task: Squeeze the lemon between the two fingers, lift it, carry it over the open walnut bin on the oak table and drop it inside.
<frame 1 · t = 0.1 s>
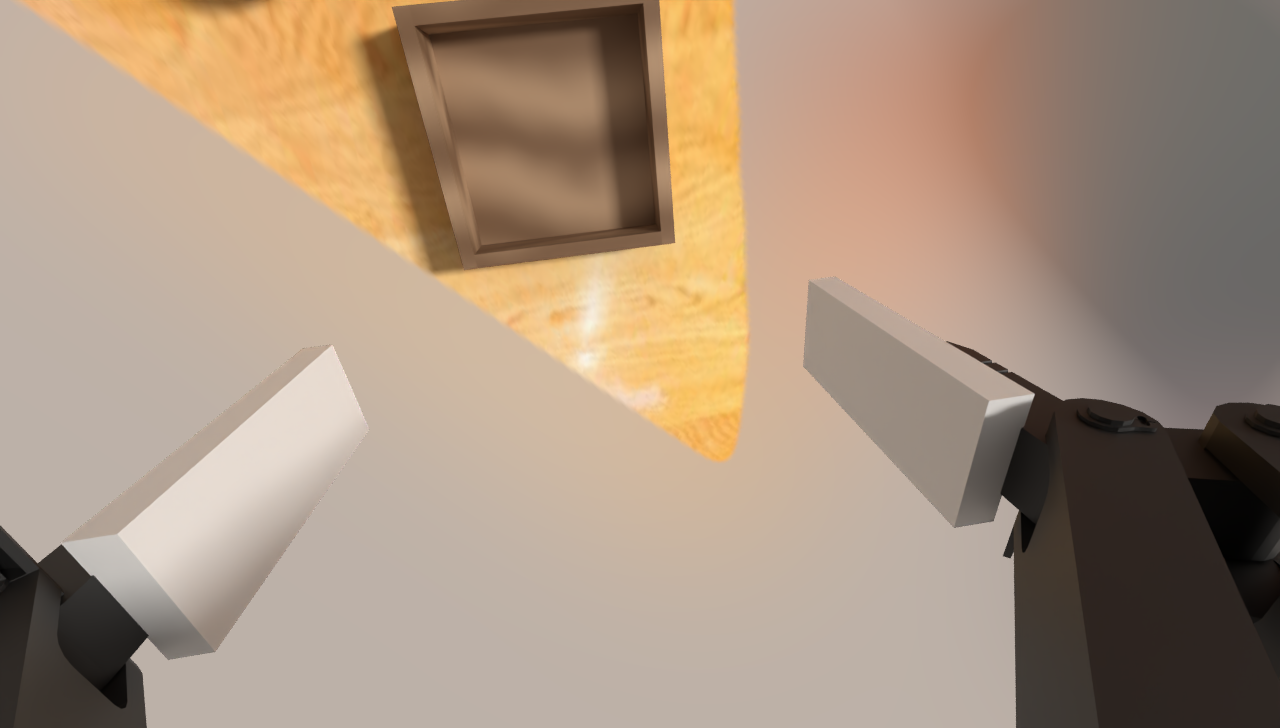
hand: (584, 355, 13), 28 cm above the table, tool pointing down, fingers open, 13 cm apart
walnut bin: (554, 138, 36), on the table
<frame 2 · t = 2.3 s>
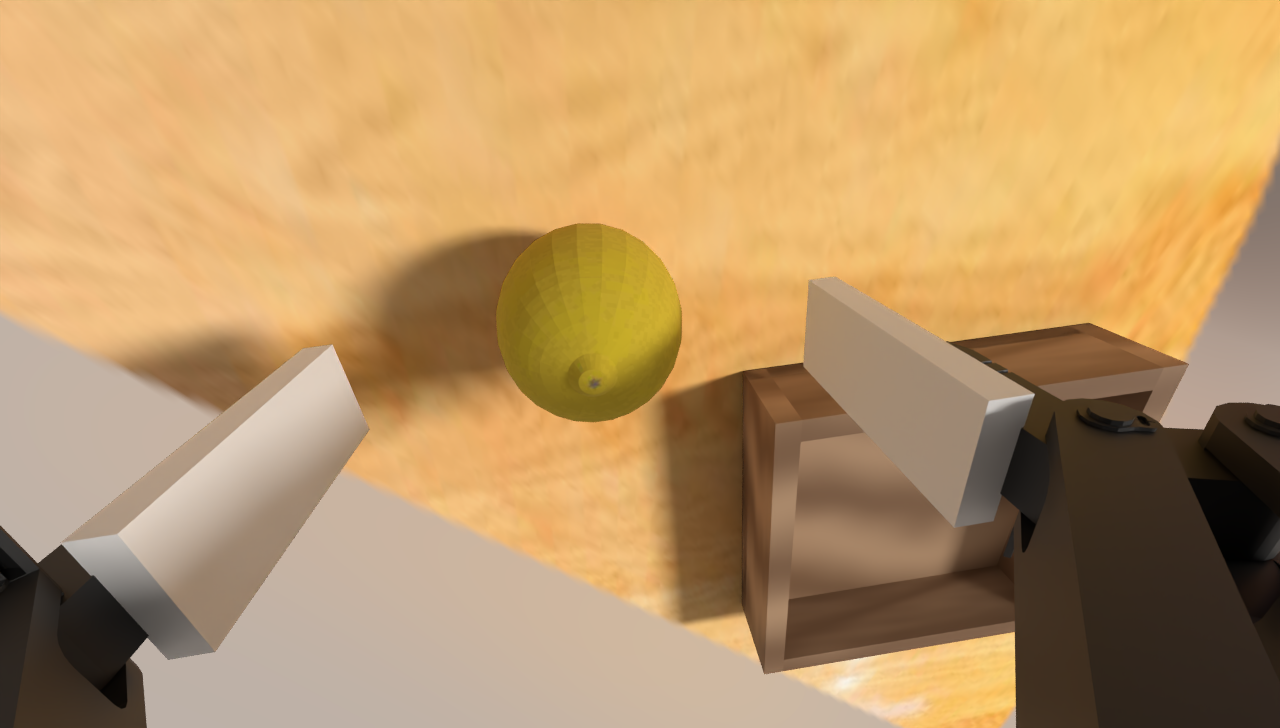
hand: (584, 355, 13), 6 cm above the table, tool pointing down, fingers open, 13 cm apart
lemon: (589, 277, 18), on the table
walnut bin: (891, 483, 25), on the table
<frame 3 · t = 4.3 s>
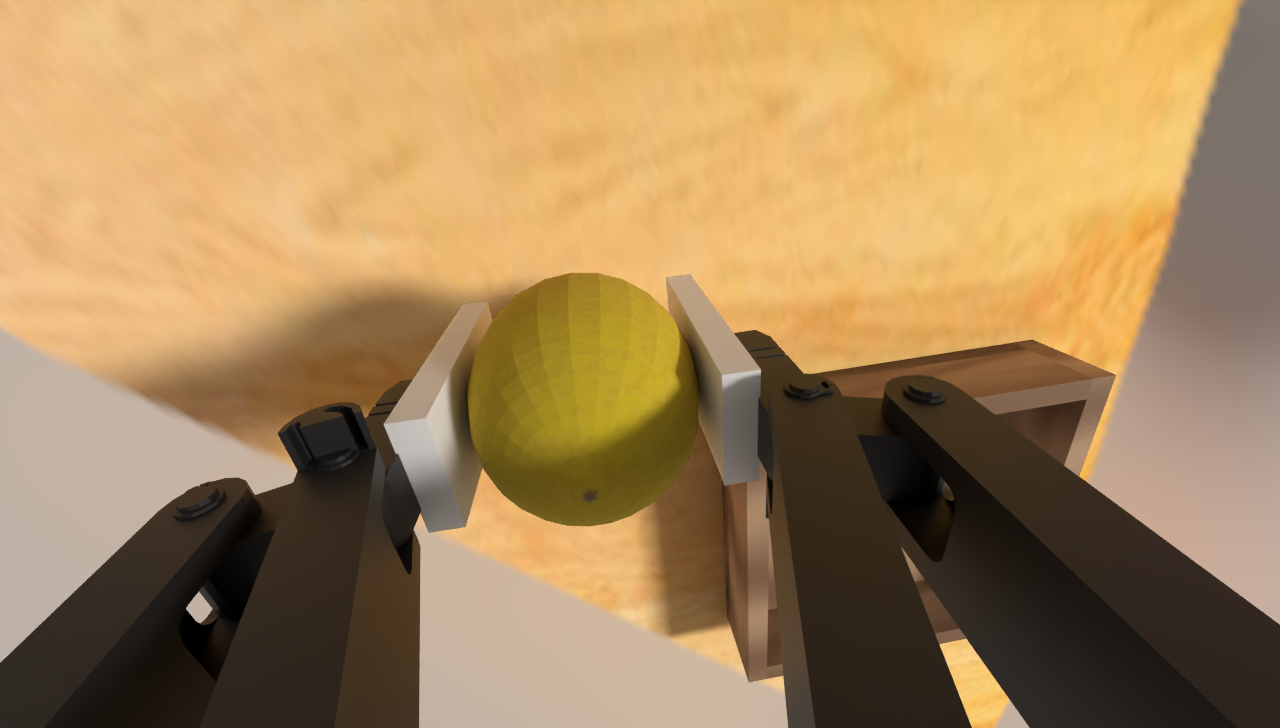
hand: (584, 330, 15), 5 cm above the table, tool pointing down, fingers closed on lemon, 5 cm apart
lemon: (585, 326, 16), point 4 cm above the table, touching gripper
walnut bin: (863, 493, 26), on the table
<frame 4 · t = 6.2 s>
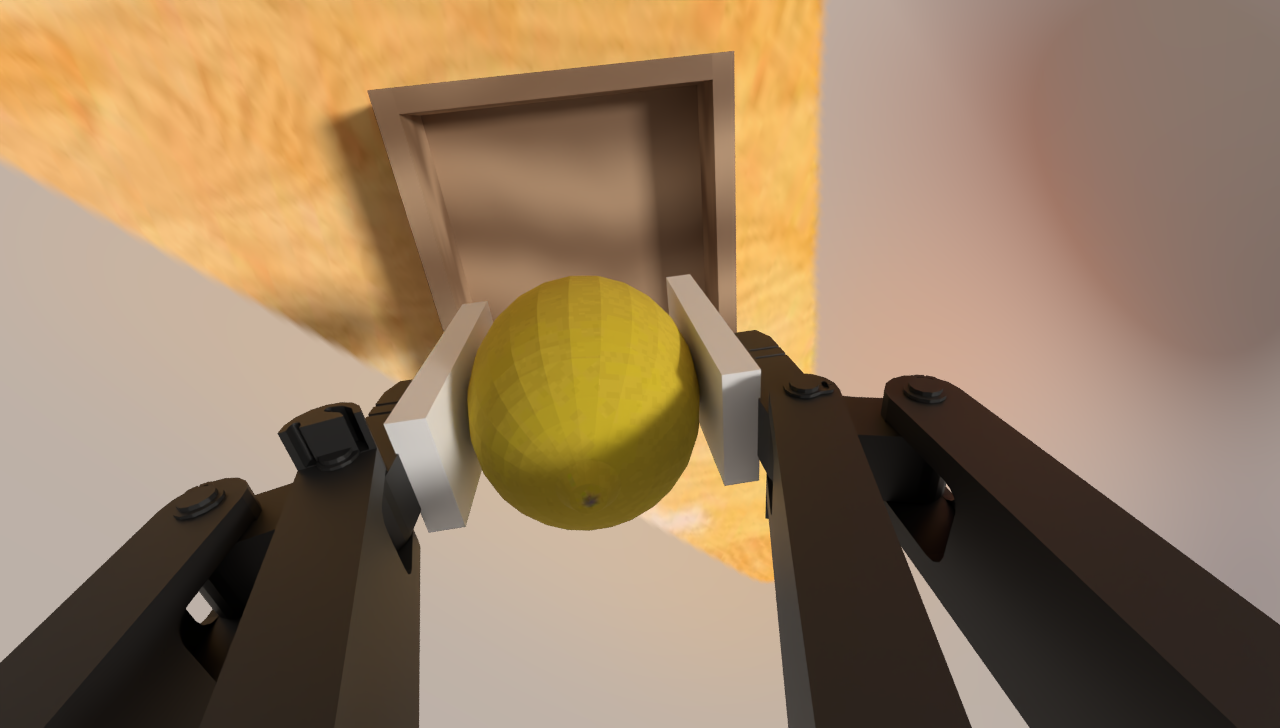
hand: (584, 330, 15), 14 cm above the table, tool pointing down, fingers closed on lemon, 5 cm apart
lemon: (585, 328, 16), point 14 cm above the table, touching gripper
walnut bin: (582, 236, 28), on the table
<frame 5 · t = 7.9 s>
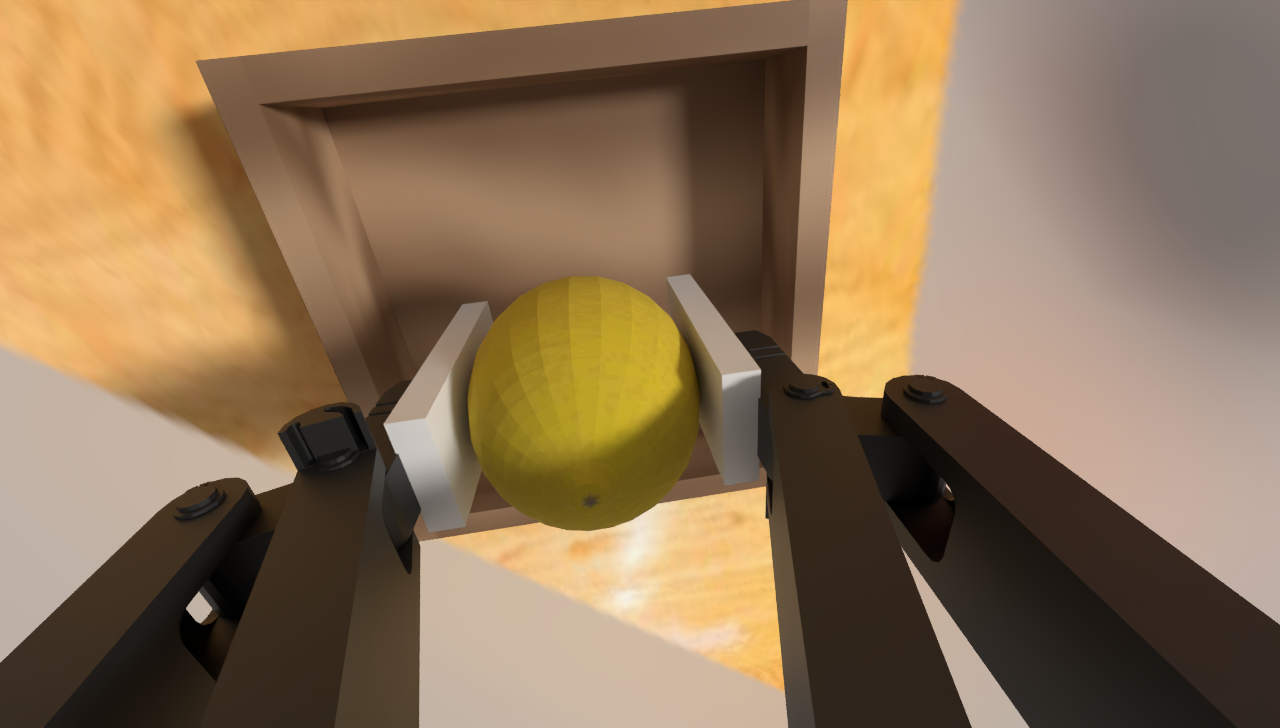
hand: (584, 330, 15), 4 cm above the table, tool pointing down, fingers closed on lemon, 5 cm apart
lemon: (585, 329, 16), point 4 cm above the table, touching gripper
walnut bin: (583, 288, 19), on the table
when the fingers open (4 cm above the table, at t = 8.3 s): lemon drops 3 cm, resting on walnut bin.
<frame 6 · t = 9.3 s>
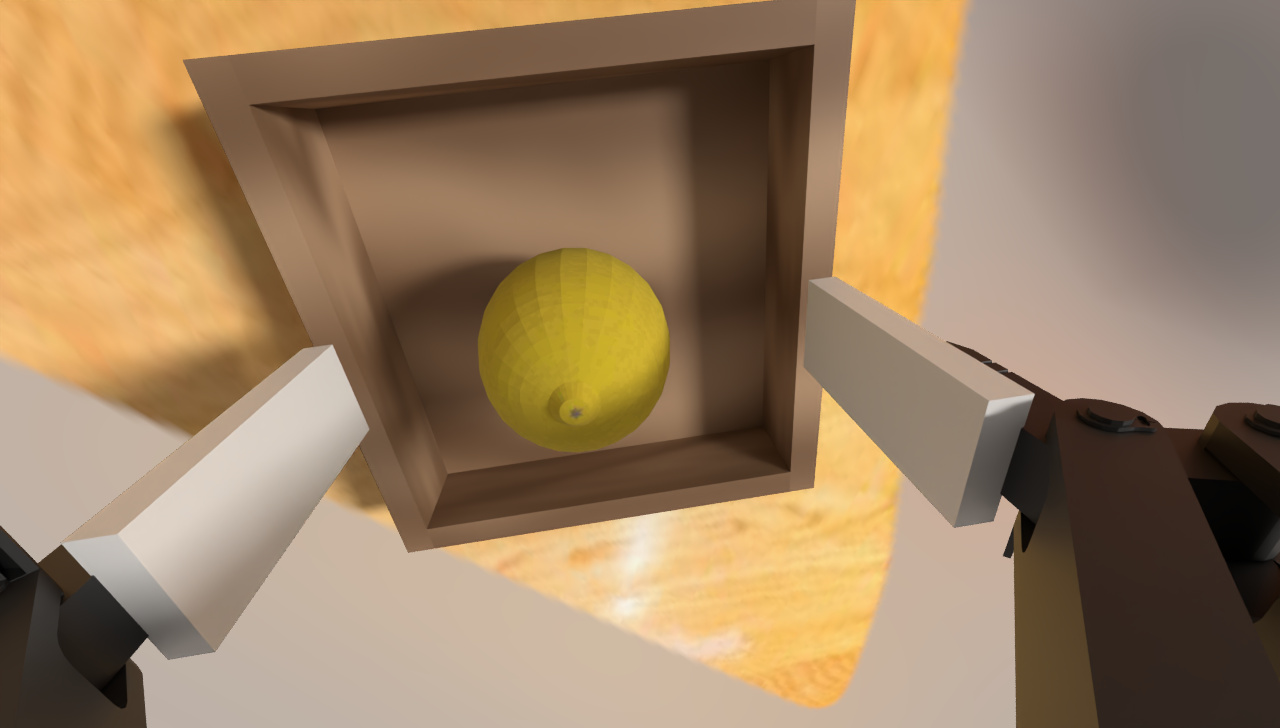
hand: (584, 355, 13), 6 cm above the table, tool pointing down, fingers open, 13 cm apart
lemon: (578, 301, 18), point 1 cm above the table, touching walnut bin
walnut bin: (583, 292, 18), on the table
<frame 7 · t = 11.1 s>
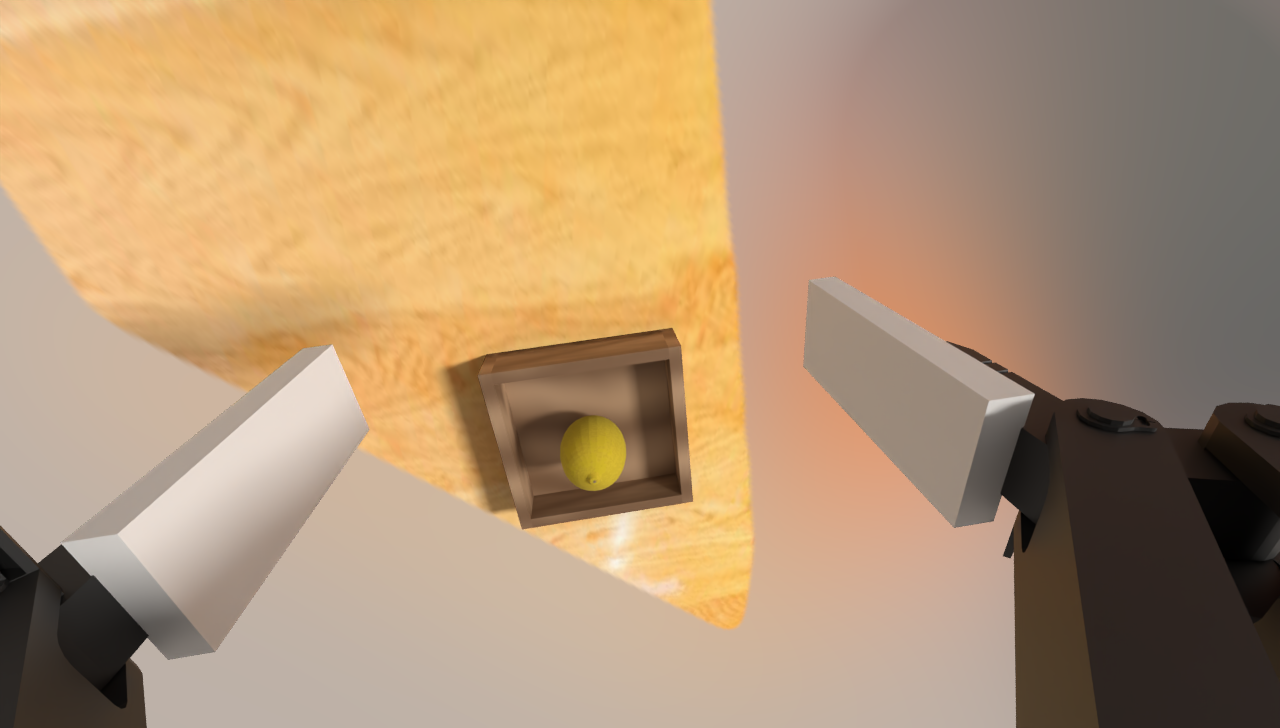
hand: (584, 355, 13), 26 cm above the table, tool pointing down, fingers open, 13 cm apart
lemon: (592, 424, 44), point 1 cm above the table, touching walnut bin
walnut bin: (594, 419, 44), on the table
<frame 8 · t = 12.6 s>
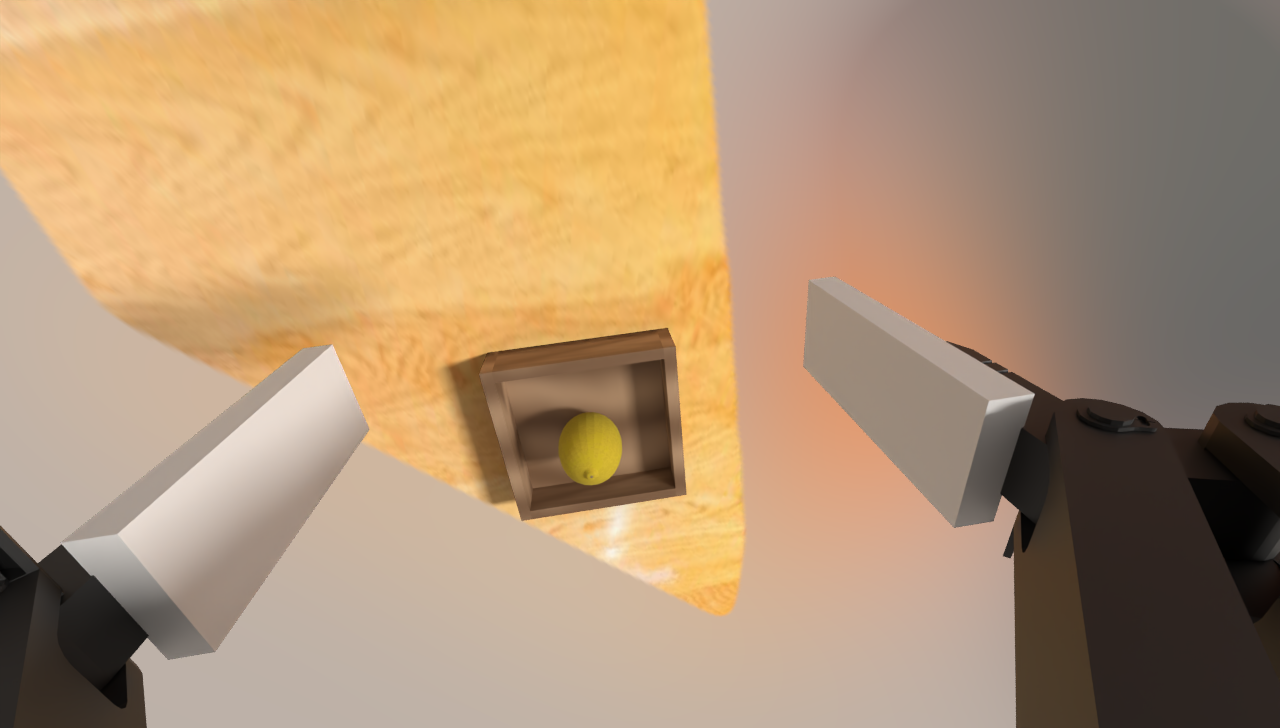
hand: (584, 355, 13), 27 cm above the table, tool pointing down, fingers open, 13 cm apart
lemon: (589, 420, 45), point 1 cm above the table, touching walnut bin
walnut bin: (591, 415, 46), on the table
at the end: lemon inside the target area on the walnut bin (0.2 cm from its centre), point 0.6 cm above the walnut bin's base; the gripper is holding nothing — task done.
